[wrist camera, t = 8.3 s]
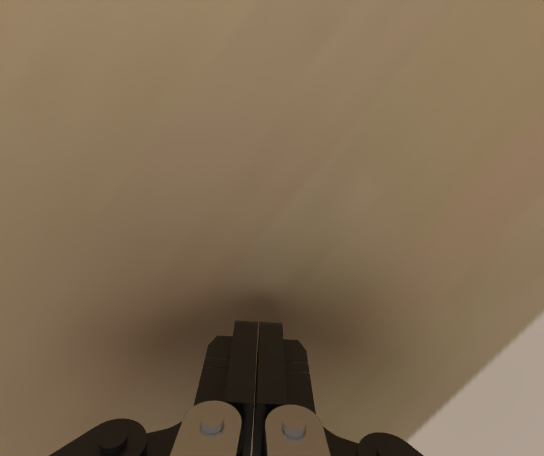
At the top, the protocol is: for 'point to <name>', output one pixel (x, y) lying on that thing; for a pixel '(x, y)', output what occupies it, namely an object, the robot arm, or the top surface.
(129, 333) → the top surface
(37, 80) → the top surface
